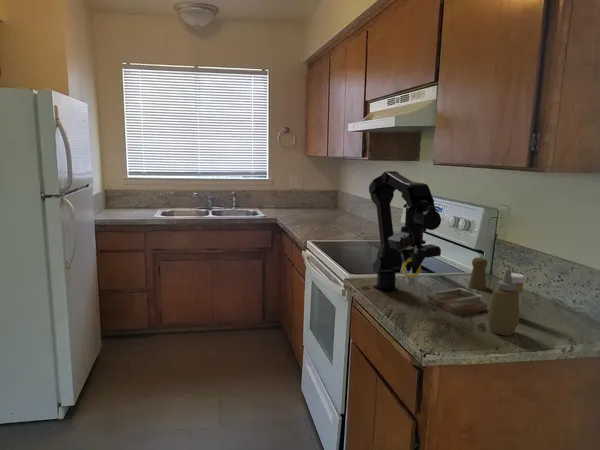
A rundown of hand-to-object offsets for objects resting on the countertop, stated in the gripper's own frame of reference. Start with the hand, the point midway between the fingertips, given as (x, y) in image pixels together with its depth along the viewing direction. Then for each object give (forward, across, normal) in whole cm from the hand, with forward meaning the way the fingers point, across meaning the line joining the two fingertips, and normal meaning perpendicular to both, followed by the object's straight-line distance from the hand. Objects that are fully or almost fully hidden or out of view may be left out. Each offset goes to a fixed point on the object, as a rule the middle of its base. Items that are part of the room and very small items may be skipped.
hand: (411, 272), depth 142 cm
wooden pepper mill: (+11, -4, +36) cm, 38 cm away
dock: (+11, +7, +14) cm, 19 cm away
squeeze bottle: (+11, +27, +10) cm, 31 cm away
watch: (+1, 0, 0) cm, 1 cm away
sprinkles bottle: (+11, +21, +22) cm, 32 cm away
